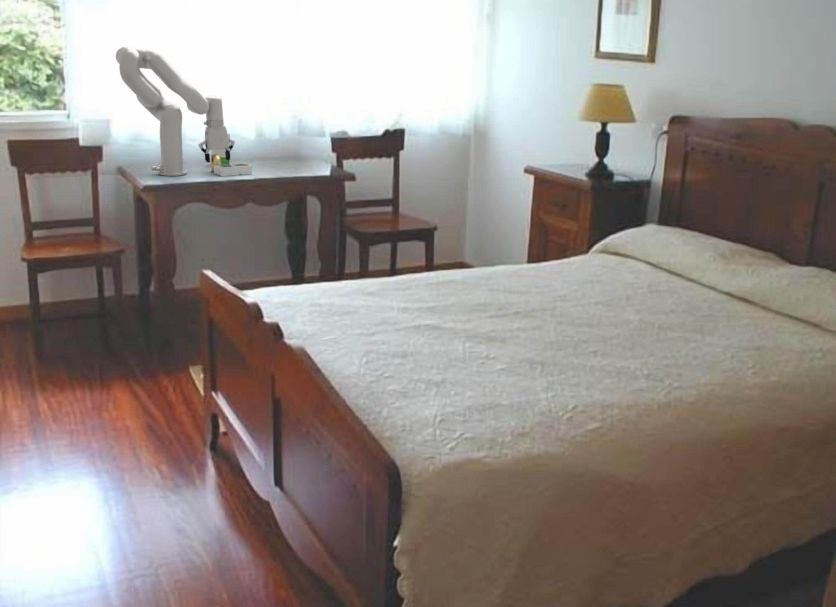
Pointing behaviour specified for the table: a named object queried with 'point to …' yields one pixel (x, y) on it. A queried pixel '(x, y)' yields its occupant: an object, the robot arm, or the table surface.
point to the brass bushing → (215, 161)
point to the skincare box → (222, 153)
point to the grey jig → (232, 169)
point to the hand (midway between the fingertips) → (218, 161)
